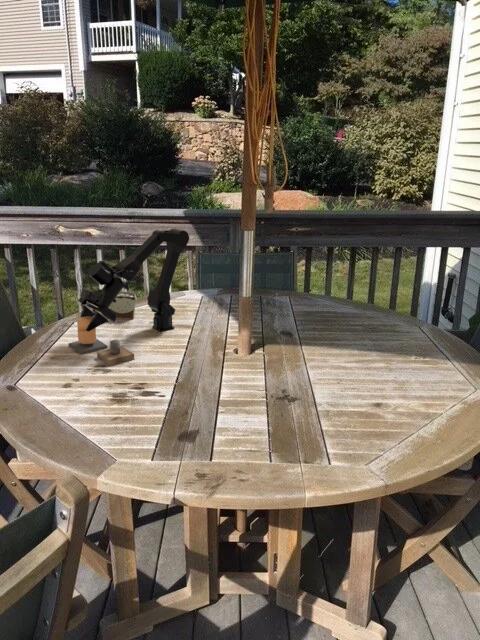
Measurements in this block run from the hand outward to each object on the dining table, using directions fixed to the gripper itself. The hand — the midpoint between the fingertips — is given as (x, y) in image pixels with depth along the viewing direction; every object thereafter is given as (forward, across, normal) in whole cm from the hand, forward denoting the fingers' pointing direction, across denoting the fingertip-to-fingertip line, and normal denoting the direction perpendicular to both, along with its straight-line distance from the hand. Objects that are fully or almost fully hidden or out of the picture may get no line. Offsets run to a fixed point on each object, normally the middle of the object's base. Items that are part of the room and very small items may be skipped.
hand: (82, 328), depth 187 cm
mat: (+4, 0, +6) cm, 7 cm away
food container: (-15, -22, +26) cm, 37 cm away
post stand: (+2, +15, +8) cm, 17 cm away
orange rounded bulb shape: (+2, 0, +4) cm, 5 cm away
